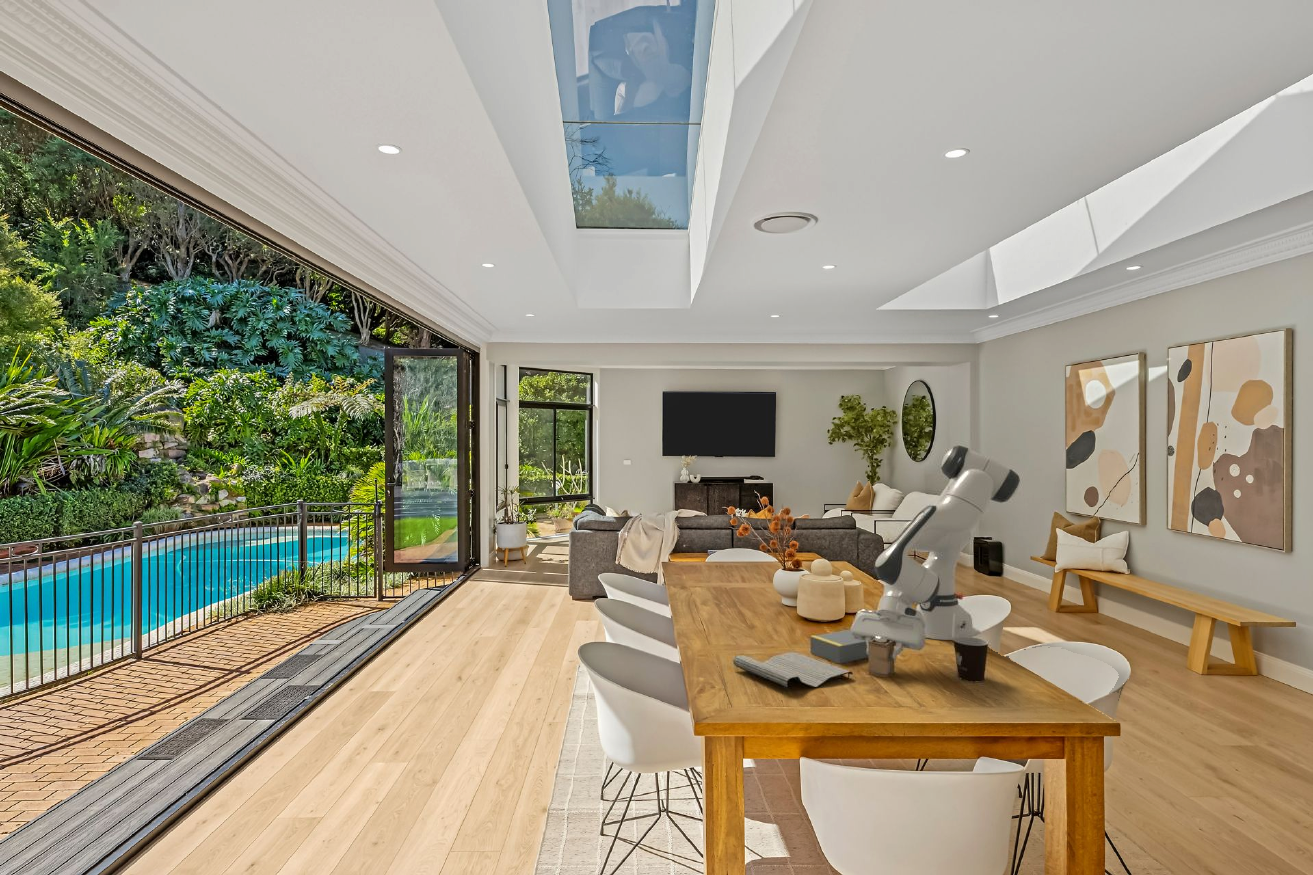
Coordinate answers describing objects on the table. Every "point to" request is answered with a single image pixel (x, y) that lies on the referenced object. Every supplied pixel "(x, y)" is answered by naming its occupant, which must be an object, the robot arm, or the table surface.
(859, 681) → the table surface
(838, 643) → the block
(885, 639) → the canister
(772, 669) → the mat
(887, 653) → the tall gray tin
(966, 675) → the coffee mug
